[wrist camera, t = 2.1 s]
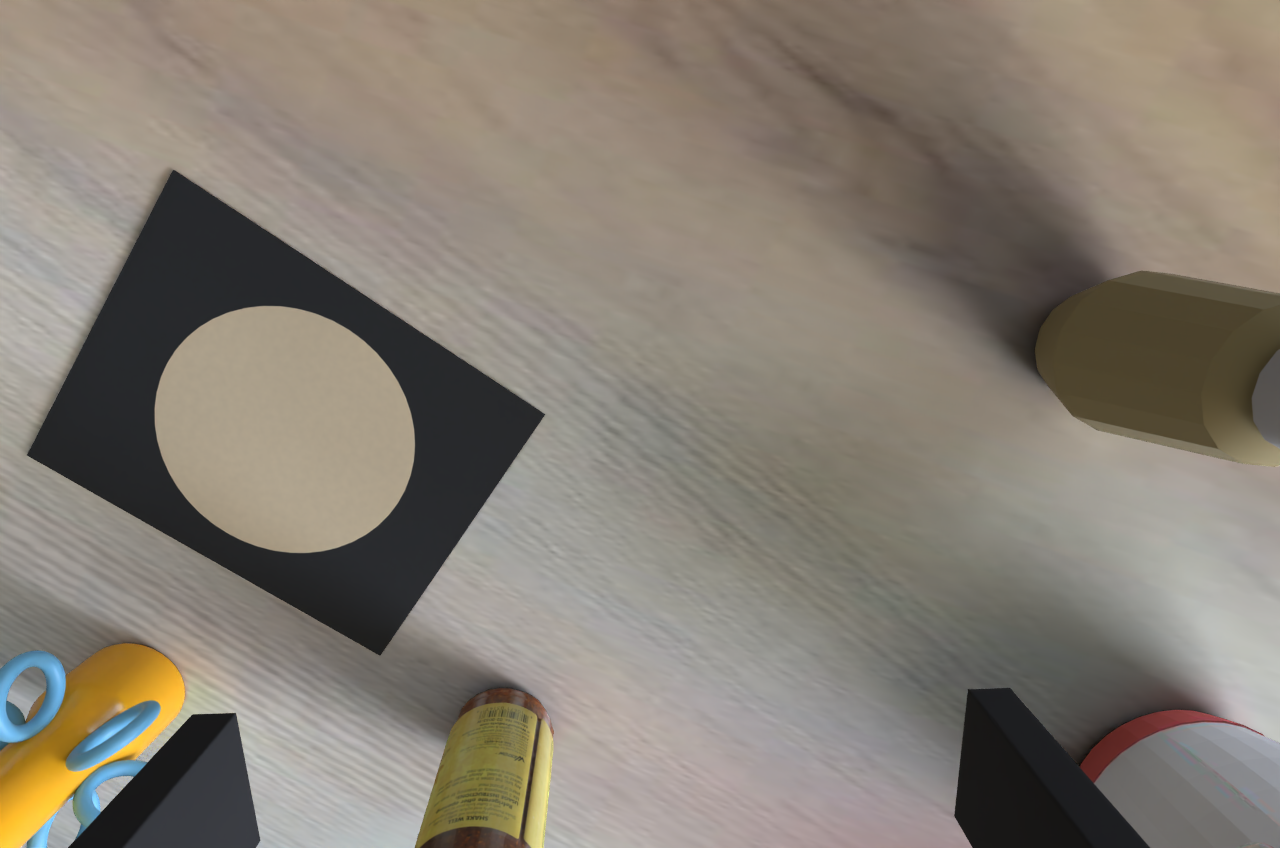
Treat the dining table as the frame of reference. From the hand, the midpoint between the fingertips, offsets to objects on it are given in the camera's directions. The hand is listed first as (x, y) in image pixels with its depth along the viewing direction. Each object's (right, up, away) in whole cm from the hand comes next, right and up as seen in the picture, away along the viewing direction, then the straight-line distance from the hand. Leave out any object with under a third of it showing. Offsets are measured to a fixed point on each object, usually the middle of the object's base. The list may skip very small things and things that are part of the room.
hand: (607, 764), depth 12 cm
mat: (-19, +6, +25) cm, 32 cm away
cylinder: (-30, -10, +29) cm, 43 cm away
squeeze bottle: (+25, +10, +25) cm, 37 cm away
